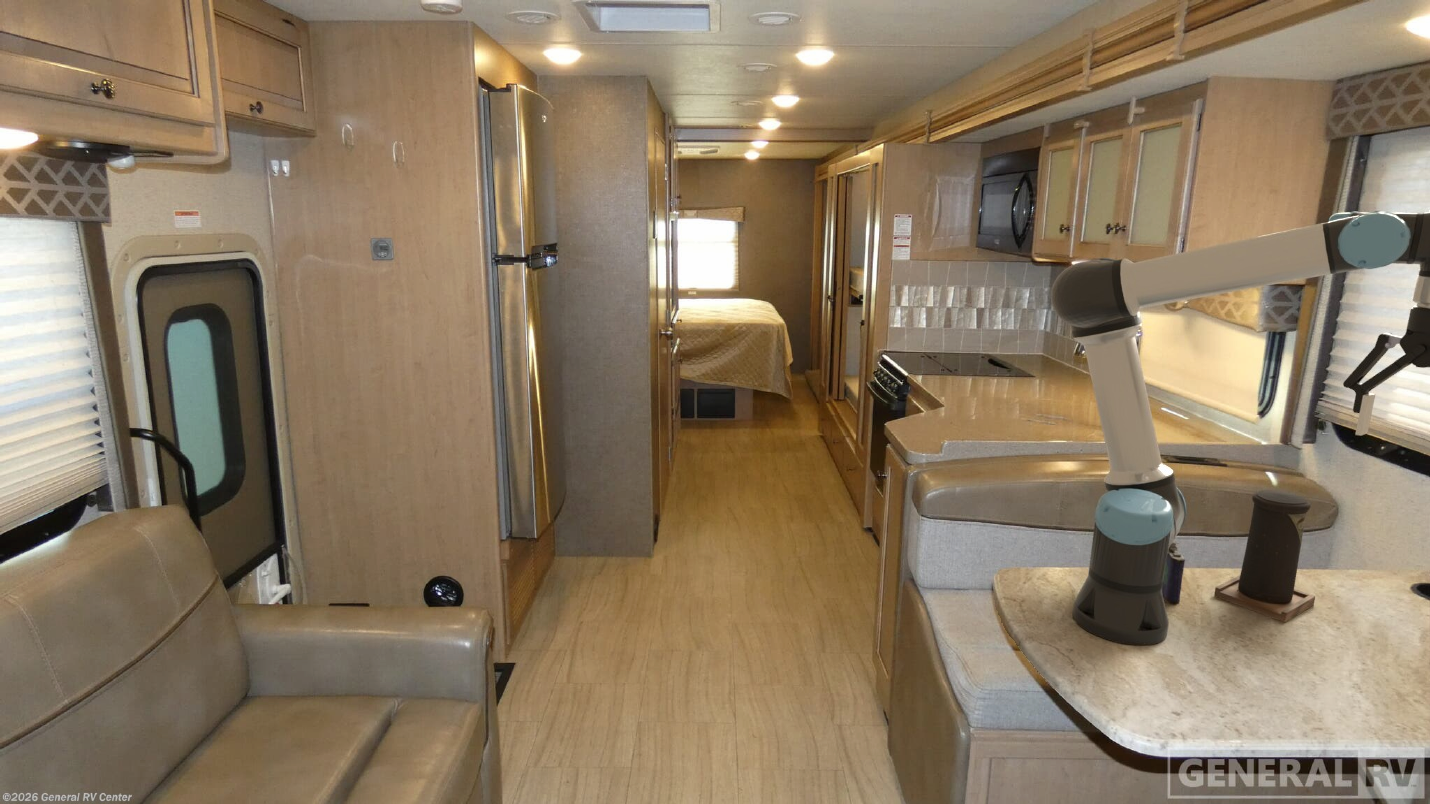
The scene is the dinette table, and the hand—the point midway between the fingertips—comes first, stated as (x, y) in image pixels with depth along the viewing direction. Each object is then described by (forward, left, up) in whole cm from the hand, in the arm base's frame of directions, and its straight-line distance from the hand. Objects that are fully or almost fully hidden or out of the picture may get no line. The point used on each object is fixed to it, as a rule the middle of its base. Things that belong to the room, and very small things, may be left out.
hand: (1414, 444), depth 124 cm
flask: (-30, +8, -37) cm, 48 cm away
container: (-14, +15, -36) cm, 41 cm away
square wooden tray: (-14, +15, -37) cm, 42 cm away
